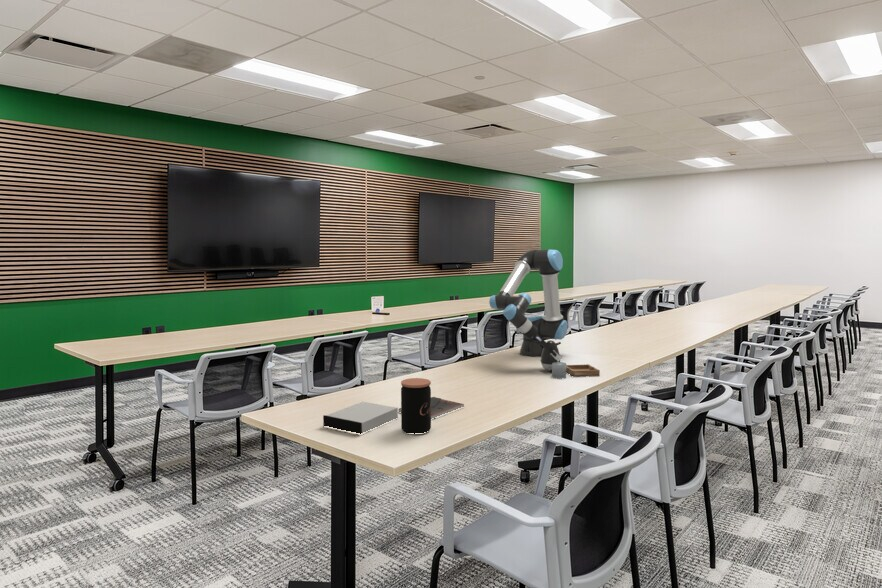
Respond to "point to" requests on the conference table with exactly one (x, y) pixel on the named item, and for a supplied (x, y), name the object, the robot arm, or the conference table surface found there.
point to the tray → (582, 370)
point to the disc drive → (360, 417)
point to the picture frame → (442, 406)
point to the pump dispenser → (549, 355)
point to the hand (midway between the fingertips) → (556, 357)
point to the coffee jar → (415, 405)
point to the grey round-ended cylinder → (558, 370)
